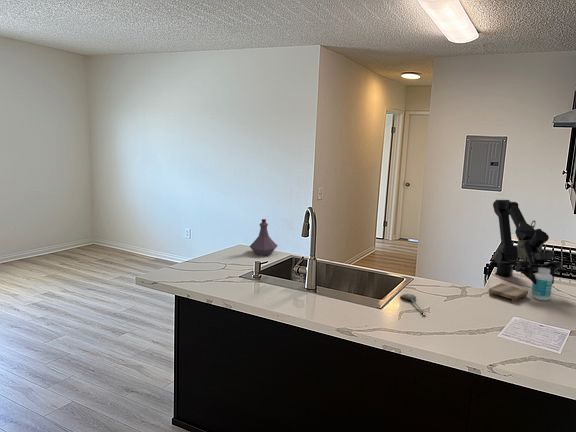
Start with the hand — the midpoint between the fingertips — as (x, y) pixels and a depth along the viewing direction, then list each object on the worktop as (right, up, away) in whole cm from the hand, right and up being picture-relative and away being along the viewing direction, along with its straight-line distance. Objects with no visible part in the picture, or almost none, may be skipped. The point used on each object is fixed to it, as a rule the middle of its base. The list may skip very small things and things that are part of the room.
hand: (544, 283), depth 199 cm
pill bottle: (0, -7, +3) cm, 7 cm away
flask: (-127, +8, +64) cm, 142 cm away
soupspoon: (-59, -9, -8) cm, 61 cm away
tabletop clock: (+19, +3, +51) cm, 55 cm away
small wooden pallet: (-14, -6, +4) cm, 16 cm away
